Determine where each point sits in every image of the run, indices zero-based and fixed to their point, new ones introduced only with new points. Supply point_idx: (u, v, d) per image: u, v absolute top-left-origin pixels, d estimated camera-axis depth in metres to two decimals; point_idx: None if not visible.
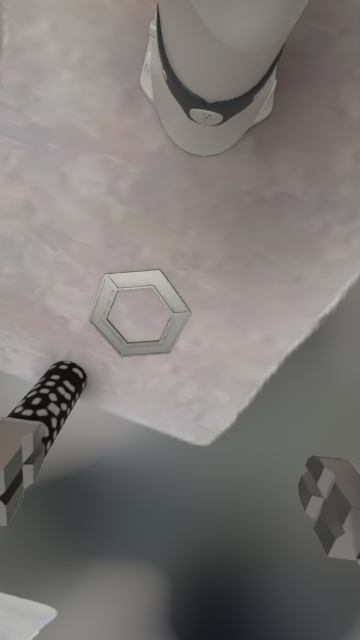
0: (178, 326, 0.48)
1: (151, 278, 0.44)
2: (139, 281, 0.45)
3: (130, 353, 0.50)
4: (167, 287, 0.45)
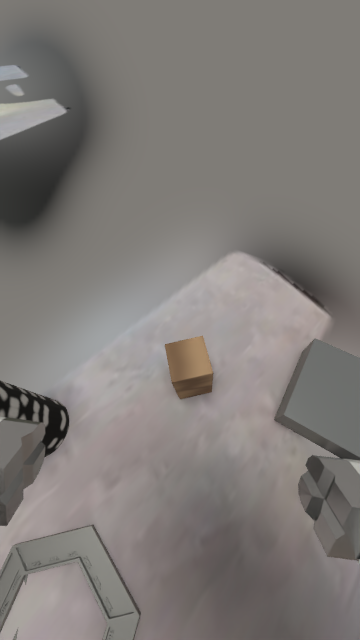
0: None
1: None
2: None
3: (8, 567, 0.29)
4: None
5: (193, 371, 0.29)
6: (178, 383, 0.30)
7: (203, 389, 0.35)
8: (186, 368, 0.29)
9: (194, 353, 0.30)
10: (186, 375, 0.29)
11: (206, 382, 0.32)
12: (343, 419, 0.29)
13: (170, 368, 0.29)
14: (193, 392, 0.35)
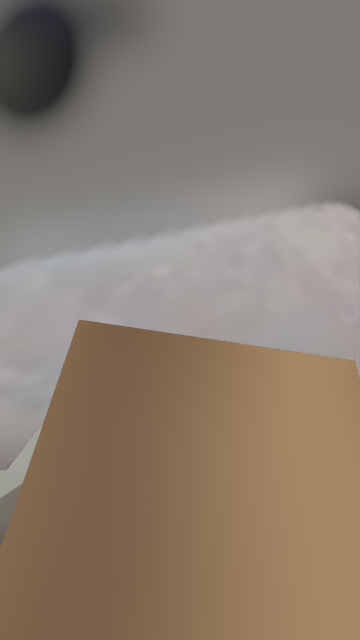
0: None
1: None
2: None
3: None
4: None
5: None
6: None
7: None
8: None
9: (280, 487, 0.03)
10: None
11: None
12: None
13: (0, 592, 0.03)
14: None
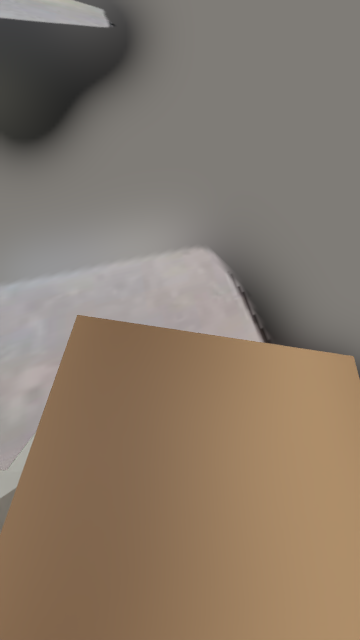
0: None
1: None
2: None
3: None
4: None
5: None
6: None
7: None
8: None
9: (278, 482, 0.03)
10: None
11: None
12: None
13: None
14: None
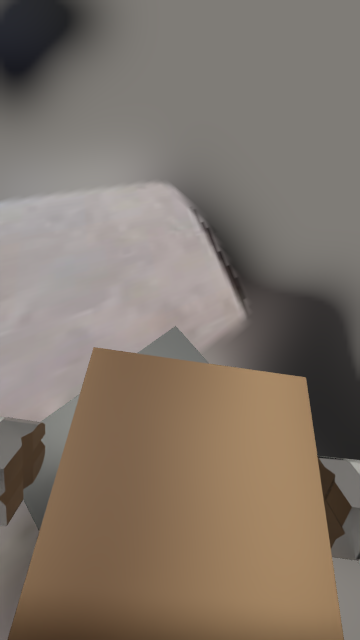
0: None
1: None
2: None
3: None
4: None
5: None
6: None
7: None
8: (160, 587, 0.04)
9: (240, 472, 0.05)
10: None
11: None
12: None
13: (47, 538, 0.04)
14: None
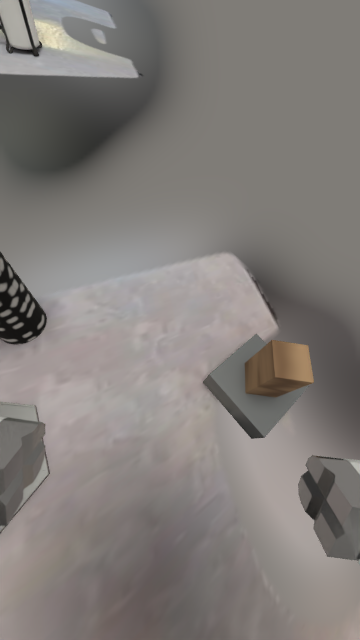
0: None
1: None
2: None
3: None
4: None
5: (296, 374, 0.30)
6: (276, 380, 0.31)
7: (276, 392, 0.36)
8: (289, 369, 0.30)
9: (298, 358, 0.31)
10: (289, 375, 0.30)
11: (292, 388, 0.33)
12: None
13: (275, 363, 0.31)
14: (265, 392, 0.37)
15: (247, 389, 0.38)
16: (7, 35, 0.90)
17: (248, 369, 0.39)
